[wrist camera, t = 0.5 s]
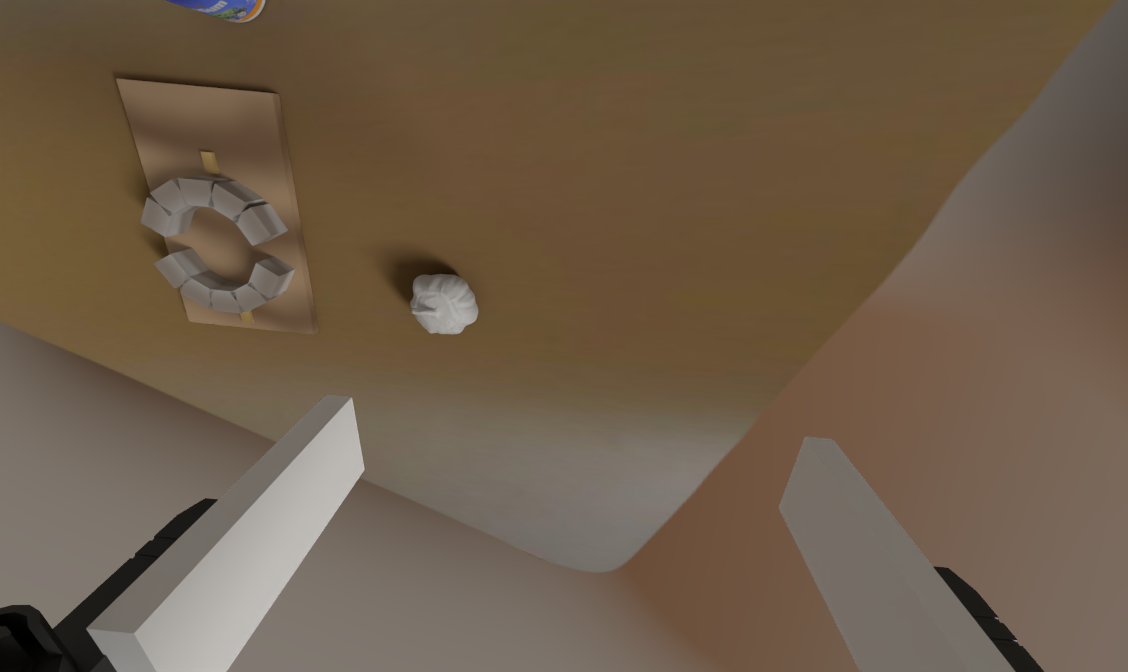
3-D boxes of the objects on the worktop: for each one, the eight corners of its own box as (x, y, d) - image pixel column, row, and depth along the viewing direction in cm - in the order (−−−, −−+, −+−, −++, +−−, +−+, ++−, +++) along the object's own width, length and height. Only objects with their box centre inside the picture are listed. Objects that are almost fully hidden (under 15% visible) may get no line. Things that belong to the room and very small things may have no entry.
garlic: (409, 300, 40) (384, 322, 35) (435, 252, 38) (412, 268, 33) (466, 334, 41) (449, 360, 36) (494, 290, 39) (481, 311, 34)
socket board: (126, 79, 33) (84, 74, 31) (278, 94, 33) (250, 90, 30) (196, 318, 42) (168, 331, 39) (318, 331, 41) (299, 344, 39)
